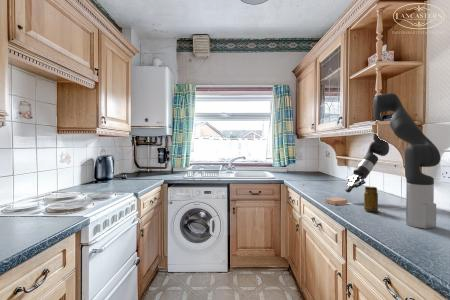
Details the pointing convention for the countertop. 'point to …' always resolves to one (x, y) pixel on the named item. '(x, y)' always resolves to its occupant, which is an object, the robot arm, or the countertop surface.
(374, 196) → the condiment
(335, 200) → the tile
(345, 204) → the board
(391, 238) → the countertop surface
